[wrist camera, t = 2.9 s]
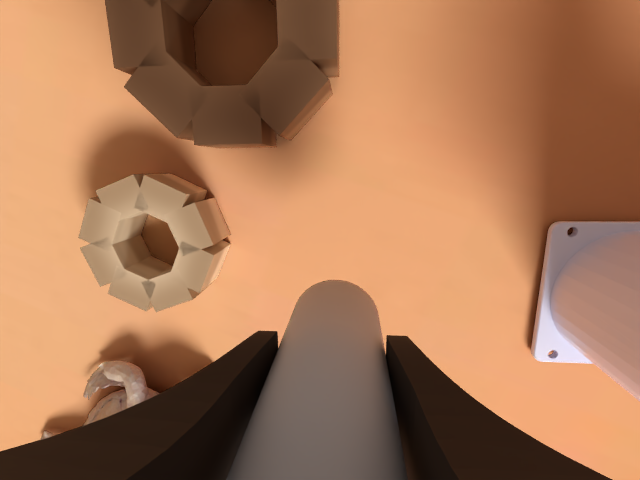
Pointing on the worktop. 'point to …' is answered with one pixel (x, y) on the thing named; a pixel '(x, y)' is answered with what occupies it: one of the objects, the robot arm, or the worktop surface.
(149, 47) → the brown segmented ring
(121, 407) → the turtle
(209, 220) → the beige notched ring
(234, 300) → the worktop surface
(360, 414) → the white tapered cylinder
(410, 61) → the worktop surface
